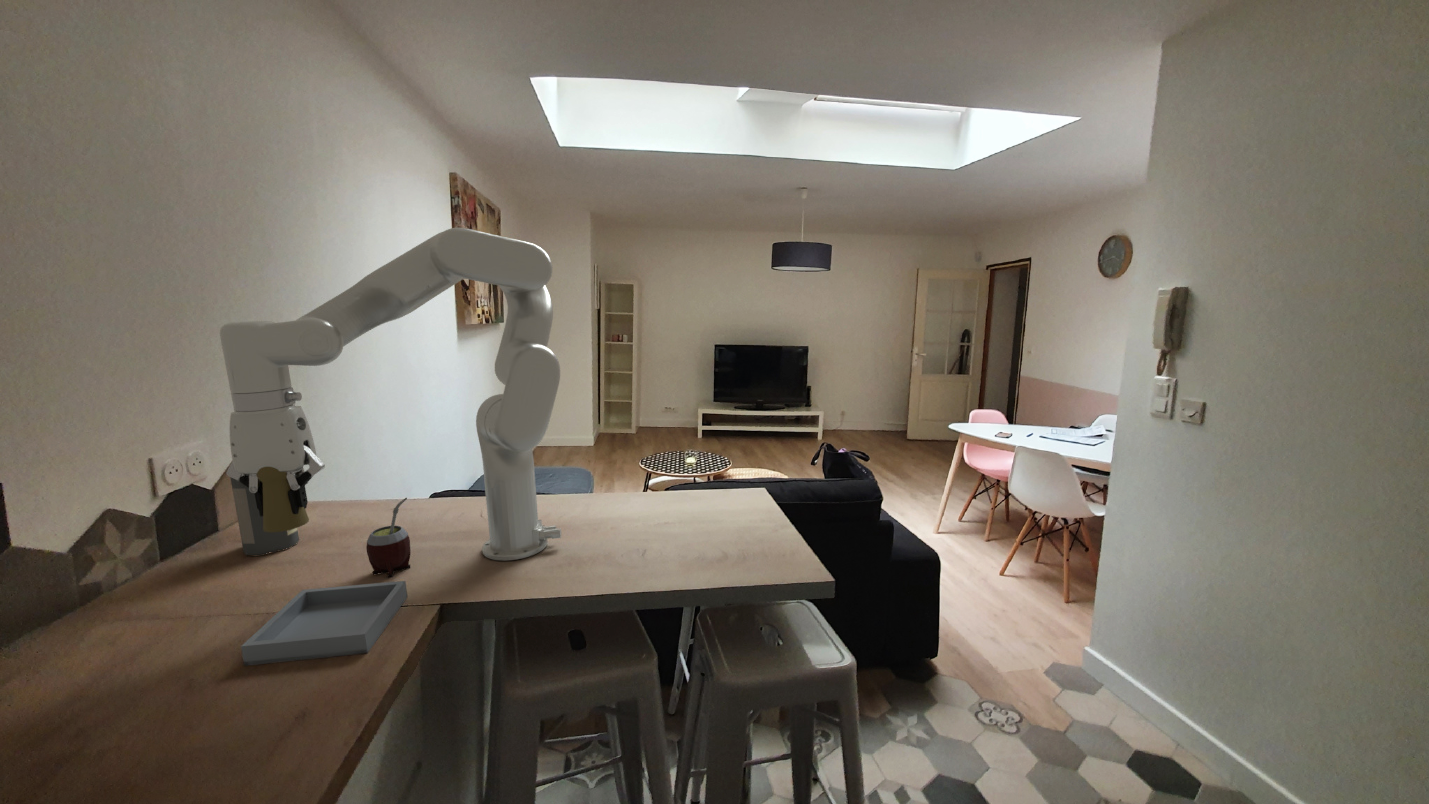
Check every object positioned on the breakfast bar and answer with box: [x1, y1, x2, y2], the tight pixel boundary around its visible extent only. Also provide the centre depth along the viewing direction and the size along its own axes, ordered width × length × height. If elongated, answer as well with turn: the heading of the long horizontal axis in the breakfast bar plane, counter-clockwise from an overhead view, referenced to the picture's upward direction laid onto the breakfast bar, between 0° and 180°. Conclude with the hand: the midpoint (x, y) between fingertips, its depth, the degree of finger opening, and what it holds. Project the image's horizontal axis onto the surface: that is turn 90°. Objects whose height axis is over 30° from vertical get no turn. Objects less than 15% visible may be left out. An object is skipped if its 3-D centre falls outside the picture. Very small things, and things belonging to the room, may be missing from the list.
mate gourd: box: [366, 497, 412, 579], centre depth 107 cm, size 8×8×15 cm
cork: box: [256, 467, 310, 532], centre depth 92 cm, size 6×6×11 cm
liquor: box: [229, 477, 300, 556], centre depth 118 cm, size 9×9×30 cm
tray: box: [240, 580, 408, 667], centre depth 89 cm, size 16×16×3 cm
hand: (283, 511), depth 93 cm, fingers closed on cork, 3 cm apart
